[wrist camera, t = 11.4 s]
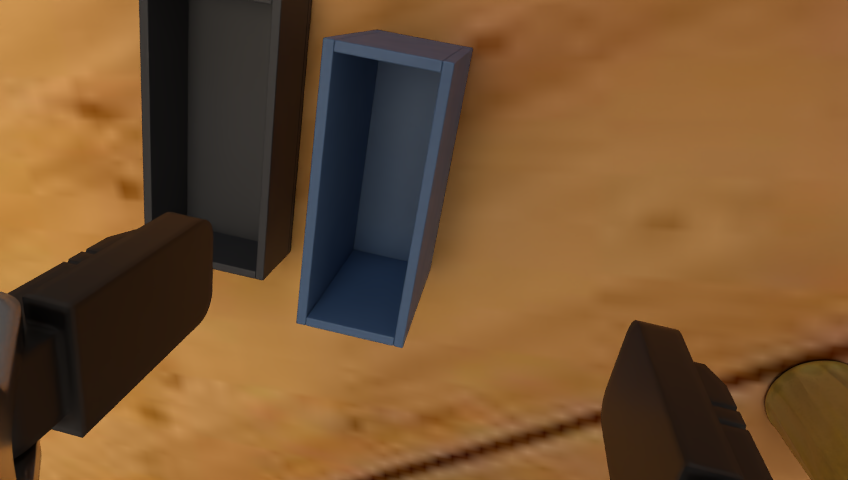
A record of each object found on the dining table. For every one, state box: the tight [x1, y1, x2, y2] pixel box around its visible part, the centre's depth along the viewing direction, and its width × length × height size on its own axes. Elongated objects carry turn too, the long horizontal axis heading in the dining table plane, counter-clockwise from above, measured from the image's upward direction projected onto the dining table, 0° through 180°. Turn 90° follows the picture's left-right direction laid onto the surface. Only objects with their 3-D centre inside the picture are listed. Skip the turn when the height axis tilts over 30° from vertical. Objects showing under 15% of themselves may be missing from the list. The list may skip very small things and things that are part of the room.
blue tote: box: [296, 30, 473, 348], centre depth 31 cm, size 14×6×10 cm, turn 170°
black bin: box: [139, 0, 312, 280], centre depth 34 cm, size 16×8×4 cm, turn 170°
